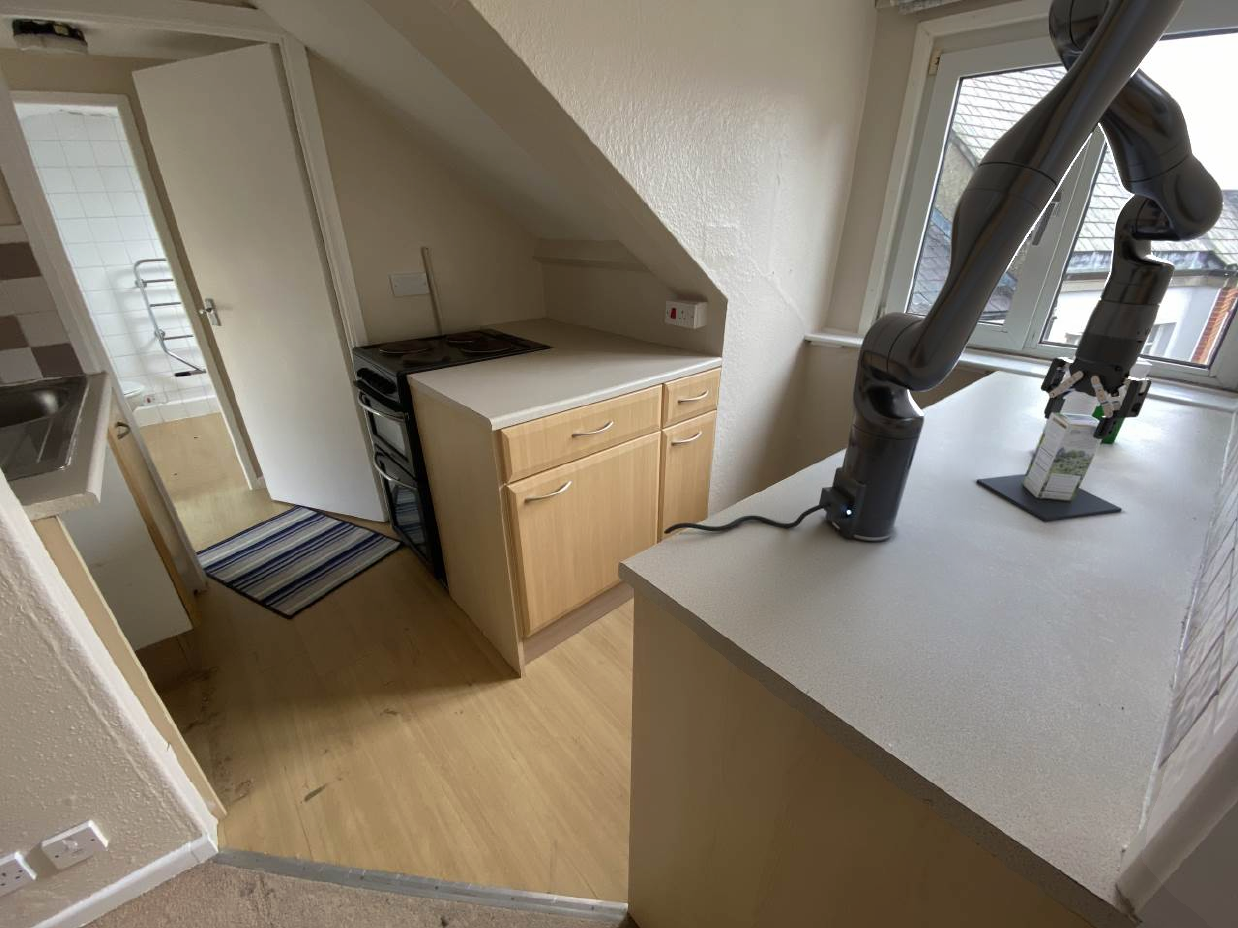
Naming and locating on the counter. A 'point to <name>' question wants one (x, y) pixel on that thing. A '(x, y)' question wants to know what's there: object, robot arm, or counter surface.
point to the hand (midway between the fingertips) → (1074, 428)
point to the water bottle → (1076, 394)
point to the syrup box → (1062, 456)
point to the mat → (1047, 500)
